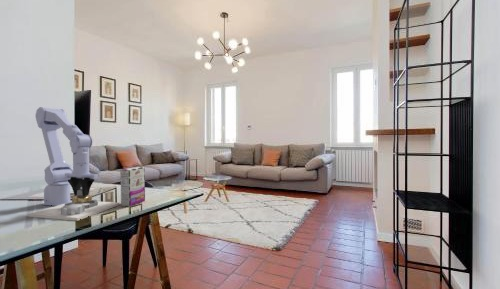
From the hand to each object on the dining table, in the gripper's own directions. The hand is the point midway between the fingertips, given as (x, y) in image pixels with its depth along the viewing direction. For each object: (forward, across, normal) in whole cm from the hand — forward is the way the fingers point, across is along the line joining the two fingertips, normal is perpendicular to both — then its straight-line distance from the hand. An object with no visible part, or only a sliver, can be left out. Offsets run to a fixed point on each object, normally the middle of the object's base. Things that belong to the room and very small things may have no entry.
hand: (81, 195), depth 108 cm
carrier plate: (+6, -1, +3) cm, 6 cm away
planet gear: (+2, 0, 0) cm, 2 cm away
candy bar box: (+6, -16, -12) cm, 21 cm away
